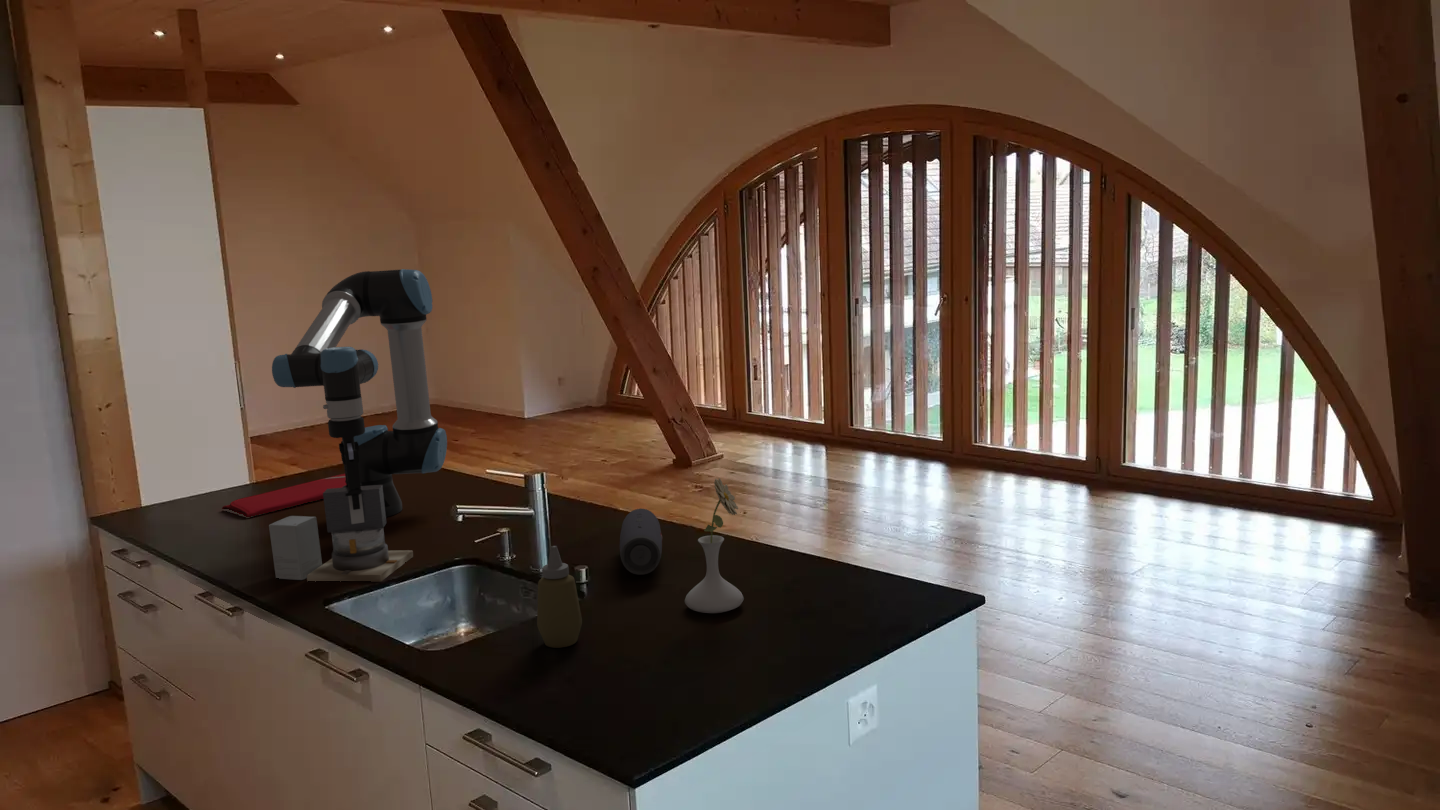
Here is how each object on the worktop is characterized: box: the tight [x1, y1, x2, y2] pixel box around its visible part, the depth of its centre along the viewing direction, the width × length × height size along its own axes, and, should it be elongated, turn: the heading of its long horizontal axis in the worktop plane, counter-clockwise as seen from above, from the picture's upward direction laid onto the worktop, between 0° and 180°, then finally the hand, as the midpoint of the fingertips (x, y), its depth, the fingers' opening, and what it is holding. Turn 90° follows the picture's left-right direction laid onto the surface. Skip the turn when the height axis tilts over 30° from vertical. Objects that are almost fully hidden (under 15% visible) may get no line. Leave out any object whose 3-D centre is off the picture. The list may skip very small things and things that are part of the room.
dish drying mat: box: [221, 473, 347, 517], centre depth 308 cm, size 16×41×4 cm, turn 139°
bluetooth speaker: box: [619, 508, 663, 575], centre depth 234 cm, size 23×9×10 cm, turn 4°
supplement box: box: [268, 515, 323, 581], centre depth 238 cm, size 7×7×13 cm
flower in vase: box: [684, 477, 745, 614], centre depth 205 cm, size 13×11×25 cm
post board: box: [306, 543, 414, 583], centre depth 240 cm, size 17×17×4 cm
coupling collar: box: [323, 485, 387, 557], centre depth 238 cm, size 12×12×14 cm
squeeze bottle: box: [536, 545, 583, 649], centre depth 191 cm, size 8×8×18 cm
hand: (357, 519), depth 239 cm, fingers closed on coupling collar, 5 cm apart
